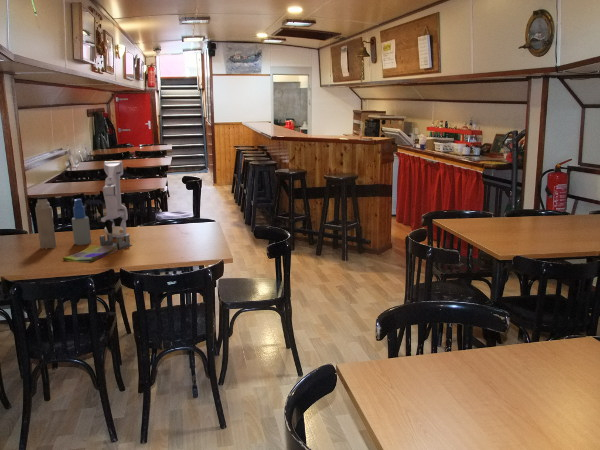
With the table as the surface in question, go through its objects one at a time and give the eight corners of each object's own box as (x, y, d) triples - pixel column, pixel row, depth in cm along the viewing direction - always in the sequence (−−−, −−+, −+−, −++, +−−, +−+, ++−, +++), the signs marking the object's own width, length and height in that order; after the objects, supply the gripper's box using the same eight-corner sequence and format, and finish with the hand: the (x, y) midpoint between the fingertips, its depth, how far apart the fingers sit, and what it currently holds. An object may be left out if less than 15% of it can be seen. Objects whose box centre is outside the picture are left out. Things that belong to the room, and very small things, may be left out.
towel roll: (102, 235, 306) (100, 226, 304) (108, 232, 310) (107, 224, 309) (120, 237, 300) (119, 228, 299) (126, 234, 305) (125, 225, 303)
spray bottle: (82, 240, 321) (78, 197, 316) (94, 241, 317) (90, 198, 312) (70, 244, 313) (65, 200, 308) (82, 245, 310) (77, 201, 304)
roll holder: (98, 247, 305) (97, 236, 304) (111, 243, 314) (110, 232, 312) (119, 249, 299) (118, 238, 298) (132, 245, 308) (131, 234, 306)
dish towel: (61, 261, 282) (60, 256, 281) (91, 249, 304) (91, 244, 304) (90, 263, 277) (90, 258, 276) (119, 250, 299) (119, 245, 299)
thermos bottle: (47, 245, 313) (41, 195, 306) (59, 245, 310) (53, 195, 304) (37, 248, 305) (30, 198, 299) (48, 249, 303) (42, 198, 296)
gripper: (107, 210, 294) (109, 235, 297) (126, 205, 306) (129, 229, 309) (97, 209, 297) (99, 234, 300) (116, 204, 309) (119, 228, 312)
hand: (113, 232), depth 305 cm, fingers closed on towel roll, 5 cm apart
